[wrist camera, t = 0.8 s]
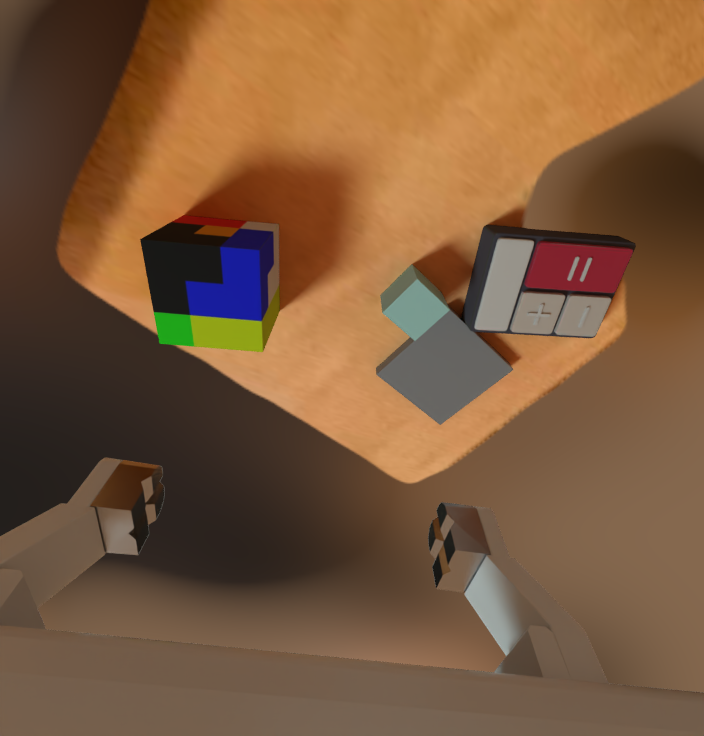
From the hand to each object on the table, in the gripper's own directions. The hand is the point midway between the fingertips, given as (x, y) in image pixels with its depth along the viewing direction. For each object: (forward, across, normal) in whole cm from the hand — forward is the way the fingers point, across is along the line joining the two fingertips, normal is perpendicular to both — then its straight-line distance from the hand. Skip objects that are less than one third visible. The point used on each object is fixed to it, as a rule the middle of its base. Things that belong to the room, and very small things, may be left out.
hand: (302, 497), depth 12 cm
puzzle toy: (+37, +11, +6) cm, 39 cm away
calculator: (+37, -23, +2) cm, 43 cm away
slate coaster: (+36, -16, +15) cm, 42 cm away
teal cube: (+36, -9, +6) cm, 38 cm away
